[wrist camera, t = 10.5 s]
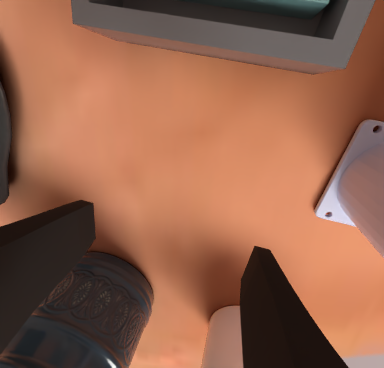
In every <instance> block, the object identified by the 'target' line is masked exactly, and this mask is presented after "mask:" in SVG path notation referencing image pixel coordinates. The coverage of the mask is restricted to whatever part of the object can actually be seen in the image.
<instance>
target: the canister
mask: <svg viewBox="0 0 384 368" xmlns="http://www.w3.org/2000/svg"><path fill="white" fill-rule="evenodd" d="M152 305H153V293H152V289H151V287H150V285H149V283H148V282H147V280H146V279H145V278H144V277H143V275H142V274H141V273H140V272H139V271H138V270H137V269H135V268H134V267H133V266H131V265H130V264H128V263H127V262H125V261H124V260H122V259H120V258H117V257H115V256H112V255H109V254H105V253H100V252H86V253H85V254H84V256H83V257H82V258H81V259H80V261H79V262H78V263H77V264H76V265H75V266H74V267H73V268H72V270H71V271H70V272H69V273H68V274H67V275H66V276H65V277H64V278H63V280H62V281H61V282H60V283H59V284H58V285H57V286H56V287H55V288H54V289H53V291H52V292H51V293H50V294H49V295H48V296H47V297H46V298H45V299H44V301H43V302H42V303H41V304H40V305H39V306H38V307H37V308H36V310H35V311H34V312H33V313H32V314H31V316H30V317H29V318H28V319H27V321H26V322H25V323H24V325H23V326H22V327H21V328H20V330H19V331H18V332H17V334H16V335H15V336H14V338H13V339H12V340H11V342H10V343H9V344H8V346H7V347H6V348H5V350H4V351H3V352H2V354H1V355H0V368H129V366H130V363H131V361H132V358H133V356H134V353H135V350H136V348H137V345H138V343H139V340H140V338H141V335H142V332H143V330H144V328H145V327H146V325H147V323H148V321H149V318H150V316H151V312H152Z"/></svg>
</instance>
